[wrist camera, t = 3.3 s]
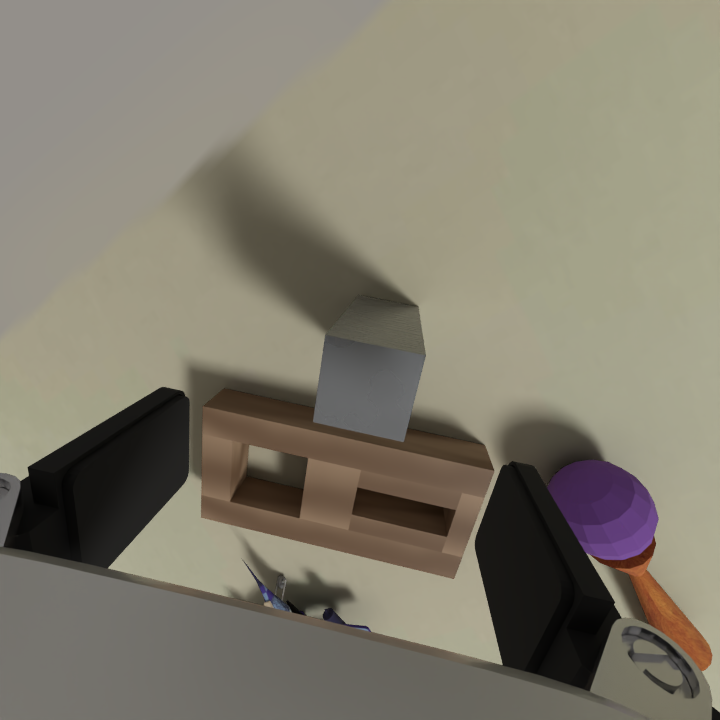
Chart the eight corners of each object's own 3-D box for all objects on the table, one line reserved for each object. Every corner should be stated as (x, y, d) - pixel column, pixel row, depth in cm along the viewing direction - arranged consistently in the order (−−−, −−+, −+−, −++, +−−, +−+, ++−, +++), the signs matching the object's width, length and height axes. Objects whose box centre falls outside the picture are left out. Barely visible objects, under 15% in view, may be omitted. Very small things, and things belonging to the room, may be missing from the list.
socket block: (224, 388, 27) (202, 406, 24) (484, 445, 26) (494, 470, 23) (220, 491, 30) (201, 517, 27) (449, 545, 29) (453, 578, 26)
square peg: (358, 294, 23) (325, 334, 14) (418, 306, 23) (425, 355, 14) (349, 351, 25) (312, 422, 15) (405, 362, 24) (403, 442, 15)
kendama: (657, 694, 26) (540, 528, 21) (625, 609, 32) (524, 457, 26) (759, 695, 24) (656, 504, 18) (706, 601, 29) (613, 430, 23)
